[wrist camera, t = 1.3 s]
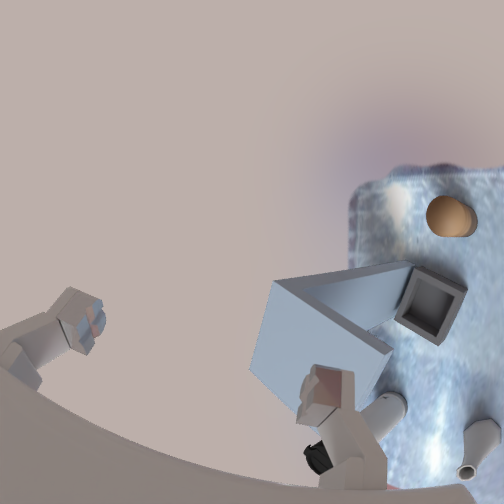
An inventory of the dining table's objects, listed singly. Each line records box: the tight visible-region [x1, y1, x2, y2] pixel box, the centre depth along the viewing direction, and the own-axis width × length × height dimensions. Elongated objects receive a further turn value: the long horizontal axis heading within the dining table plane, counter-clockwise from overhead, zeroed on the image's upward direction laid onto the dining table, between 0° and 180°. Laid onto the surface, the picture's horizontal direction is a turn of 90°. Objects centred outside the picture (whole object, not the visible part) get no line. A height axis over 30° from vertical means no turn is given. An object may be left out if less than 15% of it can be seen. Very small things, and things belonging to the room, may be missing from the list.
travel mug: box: [304, 392, 407, 475], centre depth 39 cm, size 6×7×20 cm
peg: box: [426, 196, 478, 237], centre depth 32 cm, size 4×4×12 cm
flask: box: [457, 419, 501, 481], centre depth 27 cm, size 7×7×10 cm
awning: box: [249, 260, 416, 436], centre depth 33 cm, size 12×10×28 cm
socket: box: [394, 266, 468, 346], centre depth 39 cm, size 8×8×4 cm
